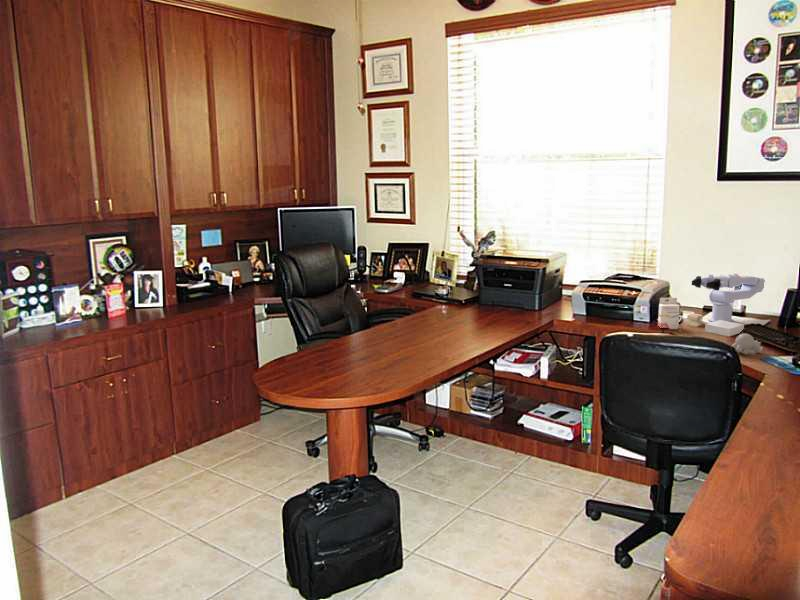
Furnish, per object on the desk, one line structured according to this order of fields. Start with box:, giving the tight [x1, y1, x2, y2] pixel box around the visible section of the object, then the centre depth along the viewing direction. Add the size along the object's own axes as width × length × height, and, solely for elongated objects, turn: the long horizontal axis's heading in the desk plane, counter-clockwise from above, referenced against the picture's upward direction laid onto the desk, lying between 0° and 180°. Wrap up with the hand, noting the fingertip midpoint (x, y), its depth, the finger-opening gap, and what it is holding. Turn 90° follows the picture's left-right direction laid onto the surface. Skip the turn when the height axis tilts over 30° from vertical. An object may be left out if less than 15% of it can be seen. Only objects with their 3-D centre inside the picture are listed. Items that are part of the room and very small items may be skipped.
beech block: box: [686, 313, 703, 328], centre depth 328 cm, size 5×5×5 cm
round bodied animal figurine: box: [731, 333, 764, 356], centre depth 281 cm, size 7×12×8 cm, turn 90°
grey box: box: [704, 320, 745, 337], centre depth 315 cm, size 12×12×4 cm
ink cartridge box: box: [657, 297, 680, 330], centre depth 324 cm, size 9×5×15 cm, turn 84°
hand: (699, 283), depth 319 cm, fingers open, 7 cm apart
